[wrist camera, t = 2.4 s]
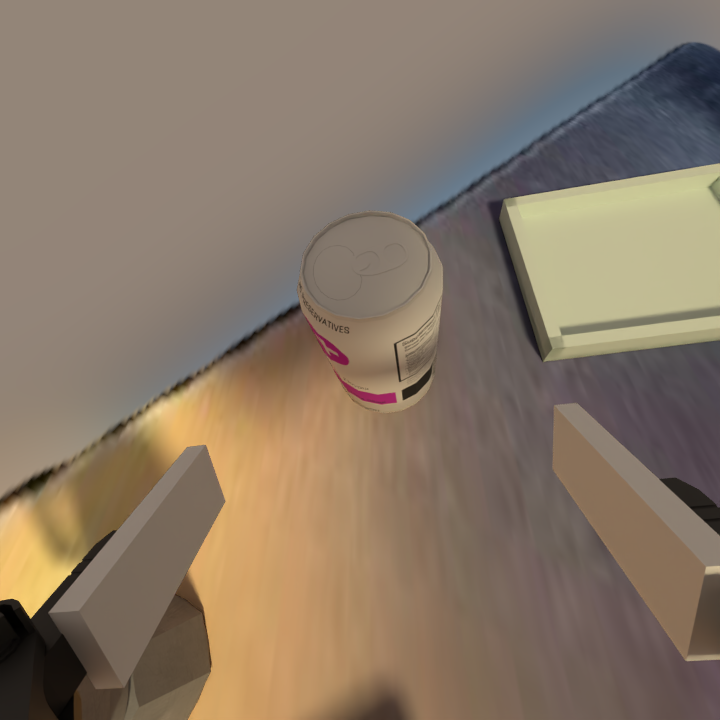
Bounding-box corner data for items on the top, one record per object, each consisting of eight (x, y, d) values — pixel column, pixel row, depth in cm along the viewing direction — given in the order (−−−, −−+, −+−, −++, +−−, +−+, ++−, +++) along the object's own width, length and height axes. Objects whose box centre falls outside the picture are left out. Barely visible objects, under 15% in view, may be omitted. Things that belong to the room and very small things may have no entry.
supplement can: (355, 427, 31) (306, 351, 18) (332, 344, 35) (277, 228, 21) (448, 399, 31) (469, 300, 18) (416, 318, 35) (414, 184, 21)
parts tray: (711, 184, 36) (731, 161, 34) (807, 329, 29) (839, 312, 27) (498, 218, 38) (503, 199, 36) (542, 361, 31) (552, 348, 29)
